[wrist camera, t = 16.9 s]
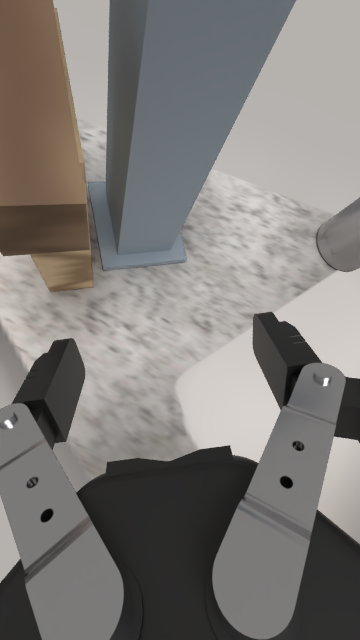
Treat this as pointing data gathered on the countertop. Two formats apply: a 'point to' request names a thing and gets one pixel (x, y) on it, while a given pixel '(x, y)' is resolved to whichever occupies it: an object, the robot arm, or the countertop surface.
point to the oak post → (77, 265)
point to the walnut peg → (37, 137)
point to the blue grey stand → (172, 114)
